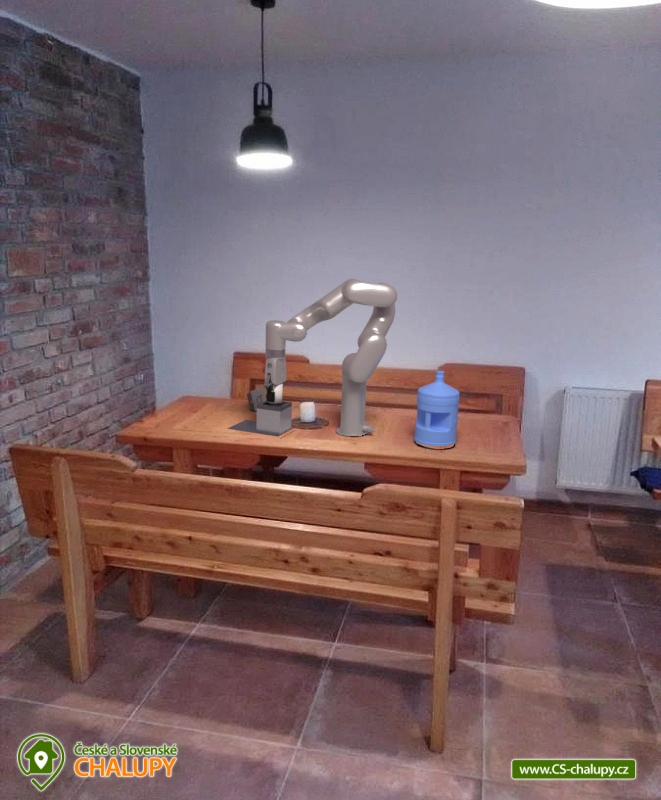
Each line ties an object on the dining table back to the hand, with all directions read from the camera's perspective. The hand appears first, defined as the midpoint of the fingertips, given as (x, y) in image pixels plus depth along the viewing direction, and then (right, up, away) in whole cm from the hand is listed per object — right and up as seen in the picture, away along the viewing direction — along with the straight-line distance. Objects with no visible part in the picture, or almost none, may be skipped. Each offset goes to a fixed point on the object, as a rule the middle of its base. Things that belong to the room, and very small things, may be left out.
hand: (274, 399), depth 249 cm
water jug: (+61, -17, -3) cm, 63 cm away
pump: (0, -1, 0) cm, 1 cm away
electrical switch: (-11, -4, +39) cm, 40 cm away
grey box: (-6, -12, +5) cm, 15 cm away
